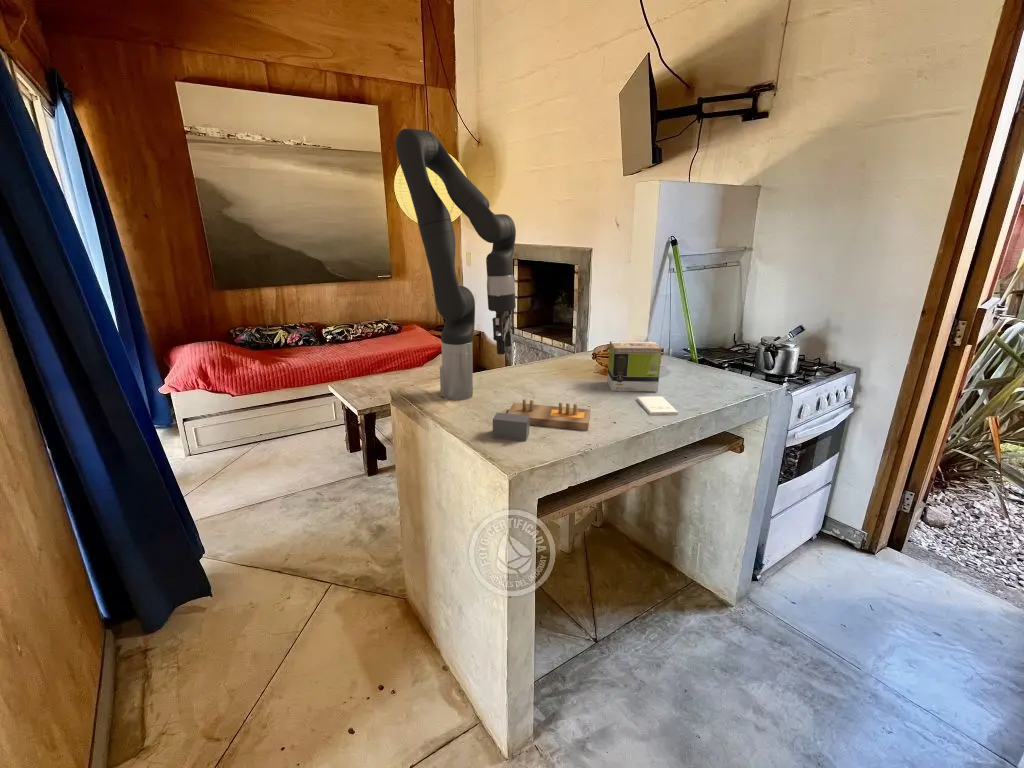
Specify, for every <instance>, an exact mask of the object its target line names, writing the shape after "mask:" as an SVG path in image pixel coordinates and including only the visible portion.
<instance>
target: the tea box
mask: <svg viewBox="0 0 1024 768" xmlns="http://www.w3.org/2000/svg"><path fill="white" fill-rule="evenodd" d="M608 348H609V349H608V361H607V362H608V364H607V376H606V377H607V378H606V379H607V383H608V386H609V388H610V387H611V388H610V390H611V391H612V392H653V393H654V392H658V390H659V381H660V380H659V378H660V371H661V369H660V368H661V361H662V348H661V347H660V346H659V345H658V344H657V343H656V342H655V341H653V340H650V341H649V340H648V341H647V340H646V341H644V340H643V341H642V340H641V341H639V340H636V341H635V340H610V341H609V347H608Z"/></svg>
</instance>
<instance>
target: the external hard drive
mask: <svg viewBox="0 0 1024 768" xmlns="http://www.w3.org/2000/svg"><path fill="white" fill-rule="evenodd" d="M637 400H638V401H637ZM636 401H637V402H638V404H639V405H640V406H641V405H642V406H643V407H644V408H645V409H646V410H645V409H644V408H643V407H642V406H641V407H642V408H643V409H644V410H645V411H646V412H647V414H648V415H650V416H678V415H679V411H678V410H677V409H675V407H674V406H673V405H671V404H670V403H669V401H667V400H666V399H665V397H663V396H655V395H654V396H637V397H636Z"/></svg>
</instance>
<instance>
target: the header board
mask: <svg viewBox="0 0 1024 768" xmlns="http://www.w3.org/2000/svg"><path fill="white" fill-rule="evenodd" d="M572 406H573V407H571V403H569V402H567V403H565V406H563V402H558V406H557V405H556V406H555V405H554V406H553V405H547V404H546V405H544V404H534V400H533V399H530V400H529V403H527V399H522V403H521V402H513V403H512V405H511V406H510V408H509V410H508V412H507V413H508V414H518V415H529V416H530V425H531V426H539V427H550V428H560V429H572V430H578V431H579V430H580V431H589V426H590V420H591V409H587V408H578V404H577V403H573V405H572Z"/></svg>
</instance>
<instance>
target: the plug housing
mask: <svg viewBox="0 0 1024 768" xmlns="http://www.w3.org/2000/svg"><path fill="white" fill-rule="evenodd" d="M530 427H531V426H530V416H529V415H518V414H508V412H506V413H504V412H496V414H495V415H494V417H493V418H492V438H493V439H503V440H512V441H523V442H527V440H528V437H529V435H530Z"/></svg>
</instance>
